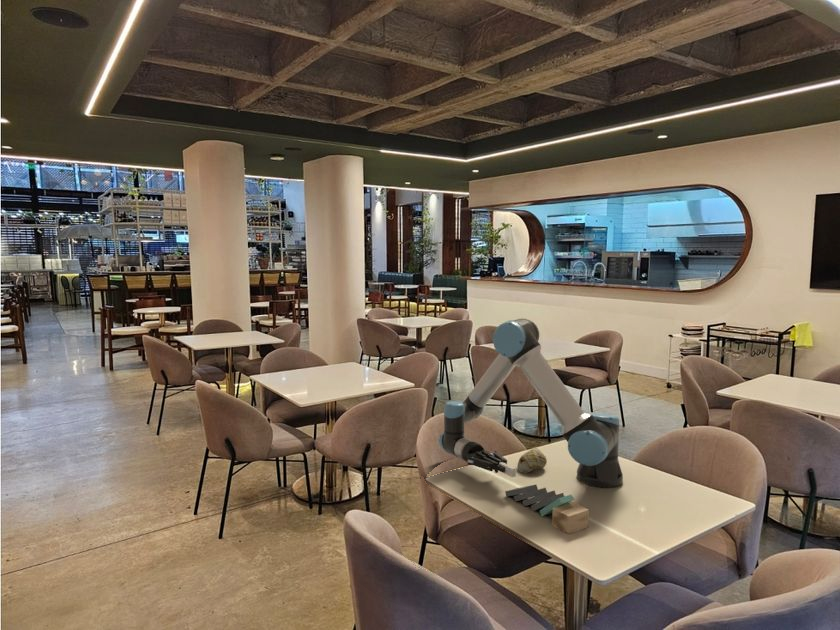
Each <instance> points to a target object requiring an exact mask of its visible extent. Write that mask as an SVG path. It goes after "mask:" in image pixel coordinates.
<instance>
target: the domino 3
mask: <svg viewBox="0 0 840 630" xmlns="http://www.w3.org/2000/svg"><path fill="white" fill-rule="evenodd" d="M554 495H557V493H556V490H551V491H547V493H544V494H541V495H538V496H535V497H531V498H527V499H523V500H521V501H522V505H523V507H527V506H531V505H534V504H536V503H538V502H540V501H542V500H544V499H546V498H548V497H551V496H554Z"/></svg>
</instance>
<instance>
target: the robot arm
mask: <svg viewBox="0 0 840 630" xmlns="http://www.w3.org/2000/svg"><path fill="white" fill-rule="evenodd" d="M539 339H540V330H539V328H538V326H537V324H535V322H534V321H532V320H531V319H527V318H516V319H513V320H507V321H505V322H503V323H501V324H499V325H498V326H497V327H496V329H495V330H494V332H493V336H492V345H493V348H494V349H495V351H496V352H497V353H498V355H497V356H496V357H495V359H494V360H493V361H492V363H491V364H490V365H489V367H488V368H487V370H486V371H485V372H484V373H483V375H482V376H481V378H480V379H479V380H478V382H477V383H476V385H475V386H474V387H473V389H472V390H471V391H470V393H468V395H467V396H466V398H465V400H463V401H459V400H451V401H447V402H445V403H444V410H443V421H444V423H443V425H444V426H443V427H444V429H443V431H442V432H441V433H440V435H439V438H438V445H439V447H440V448H441V449H442V450H444V451H445V452H446V453H448V454H451V455H453V456H455V457H457V458H459V459H460V460H462V461H463V462H466V463H467V465H469V466H474V467H476V468H480V469H483V470H485V471H489V472H492V471H494V473H495V474H498V473H499V472H500V473H502V474H504V475H507V476H509V477H510V478H515V477H516V476H517V475H516V471H517V470H516V468H517V467H514V466H511V465H510V464H508V459H506V457H504V456H503V455H501V454H499V453H498V451H497V450H494V451H493V452H490V451H488V450H485V449H484V447H483V445H482V444H480V443H477V442H476V441H474V440H471V439H470V438H466V437H465V424H467V423H468V422H470V421H472V420H476V419H477V418H478V417H480V416H481V415H482V413H483V411H484V407H485V406H486V405H487V403H488V402H489V401H490V400H491V399H492V397H494V395H495V393H496V392H497V390H498V389H499V388H500V387H501V385H503V383H504V382H505V381H506V379H507V378H508V376H509V375H510V374H511V372H512V371H513V370H514V368H515V367H519V368H520V371H522V372H523V374H524V375H525V377H526V378H527V380H528V381H529V382H530V384H531V385H532V387H533V388H534V389H535V391H536V392H537V393H538V395H539V396H540V398H541V399H542V400H543V402H544V403H545V405H546V406H547V407H548V409H549V410H550V411H551V414H553V415H554V417H555V418H556V420H557V421H558V423H559V424H560V425H561V427H562V430H561V435H562V436H563V438H564V439H565V441H566V442H567V450H568V453H569V456H571V458H572V459H573V460H574V461H575V462H576V463H578V467H577V469H576V479H578V481H579V482H581V483H583V484H586V485H589V486H592V487H598V488H616V487H619V486H621V485H622V484H623V479H624V478H623V477H624V475H623V472H622V469H621V464H620V462H619V442H620V440H619V438H620V437H619V436H620V428H621V424H620V419H619V417H618V416H616V415H615V414H610V413H605V412H604V413H603V412H596V411H595V412H591V411H590V412H589V411H588V412H585V411H584V410H583V408H582V407H581V406H580V405H579V403H578V402H577V400H576V399H575V398H574V397H573V395H572V394H571V392H570V391H569V389H568V388H567V386H566V385H565V384H564V383H563V381H562V380H561V378H560V376H558V375H557V373H556V372H555V370H554V369H553V368H552V366H551V365H550V364H549V362H548V361H547V360H546V358H545V356H544V355H543V354H542V352H541V350H542V345H541V343H540V342H539Z"/></svg>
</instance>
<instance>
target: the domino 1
mask: <svg viewBox="0 0 840 630" xmlns="http://www.w3.org/2000/svg"><path fill="white" fill-rule="evenodd" d="M535 490H538V485H537V484H531V485H526V486H522V487H517V488H512V489H508V490H506V491H504V493H505V496H506V497H512V496H517V495H520V494H524V493H528V492H531V491H535Z"/></svg>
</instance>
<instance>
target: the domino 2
mask: <svg viewBox="0 0 840 630" xmlns="http://www.w3.org/2000/svg"><path fill="white" fill-rule="evenodd" d="M547 492H548V490H547V488H546V487H543V488H540V489H538V490H535V491H531V492H528V493H524V494H518V495H513V498H514V501H515V502H518V501H519V502H520V501H524V500H527V499H530V498H532V497H535V496H538V495H541V494H544V493H547Z"/></svg>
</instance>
